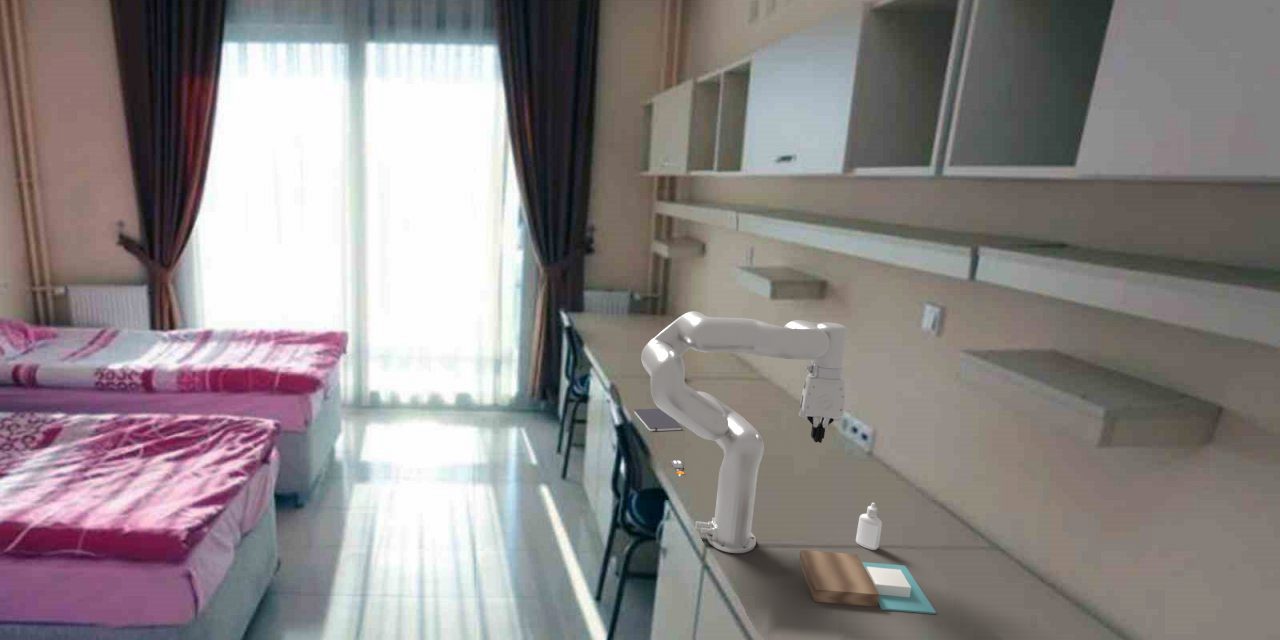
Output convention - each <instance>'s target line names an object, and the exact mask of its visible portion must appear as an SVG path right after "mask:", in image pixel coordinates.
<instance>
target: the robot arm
mask: <svg viewBox="0 0 1280 640" xmlns="http://www.w3.org/2000/svg"><path fill="white" fill-rule="evenodd" d="M847 339H848V329H847V327H846V326H845V325H843V324H840V323H837V322H829V321H827V322H824V321H823V322H815V321H808V320H803V319H802V320H801V319H794V320H791V321H789V322H787V323H785V325H784V326H779V325H776V324H770V323H769V322H768V323H767V322H765V321H762V320H758V319H754V318H747V317H719V316H717V317H716V316H715V317H714V316H713V317H712V316H706V315H705V314H704V313H702V312H699V311H695V310H694V311H687V312H686V313H684V314H682V315H680V316H679V317H677V319H675V320H674V321H673V322H672V323H670V324H669V325H667V326H666V327H665V328H664V329H663V330H662V331H660V332H659V333H658V334H657V335H655V337H653V338H652V339H650V340H649V341H648V342H647V343H646V345H645V346H644V347H643V349H642V351H641V355H640V359H641V360H640V361H641V365H642V366H643V369H645V370H646V372H647V374H649V376H650V394H651V397H652V400H653V403H654V404H655V405H656V406H657V409H661V410H662V411H663V412H665V413H666V414H668V415H669V416H670V417H672V418H673V419H674V420H675V421H676V422H677V423H678V424H679V425H681V426H683V427H685V428H686V429H688V430H689V431H691V432H692V433H693V434H695V435H696V436H697V437H700V438H701V439H703V440H707V441H714V442H715V443H716V444H717V445H718V446H719V447H720V448H721V450H722V451H723V460H722V462H721V465H720V468H719V472H718V480H717V481H718V482H717V491H716V502H715V511H714V517H711V521H710V520H708V522H706V521H705V522H704V521H699V520H698V521H697V520H695V529H696V530H700V534H706V540H707V542H708V543H709V544H710V545H711V546H712V547H714V548H715V549H716V550H719V551H722V552H725V553H728V554H729V553H731V554H745V553H749V552H750V551H752V550H753V549H755V547H756V544H757V540H756V539H757V538H756V536H755V535H754V533H753V532H752V526H753V518H754V509H755V508H754V507H755V501H756V490H757V480H758V474H759V470H760V466H761V465H760V464H761V461H762V458H763V455H764V450H765V448H764V447H765V446H764V441H763V439H762V436H761V433H759V432H758V431H757V429H756V428H755V427H754V426H753V425H752V424H751V423H750V422H748V421H747V420H746V419H745V418H744V417H743V416H742V415H740V414H739V413H738V412H736V411H735V410H733V409H732V408H731V407H729V406H728V405H726V404H725V403H723V402H722V401H720V400H718V399H717V398H716V397H715V396H713V395H712V394H709V393H707V392H705V391H699V390H698V391H696V390H695V389H693V388H692V387H690V386H688V385H687V384H686V380H685V373H686V371H685V370H686V368H685V362H684V360H683V358H682V357H683V356H684V355H685V354H686V353H687V352H688V351H689V350H690V349H691V350H693V351H695V352H697V353H703V354H704V353H706V354H749V355H755V356H761V357H771V358H777V359H784V360H809V361H810V360H811V363H810V365H805V367H804V370H805V372H809V373H808V374H807V375H806V378H805V382H804V385H803V388H802V393H801V398H800V404H799V405H800V406H799V407H800V410H799V412H798V417H800V418H801V419H804V420H808V421H809V422H810V424H811V431H810V438H811V439H812V440H813V441H814V442H815V443H819V444H820V443H821V444H822V442H823V439H825V434H826V433H825V432H826V429H827V428H828V426H829V425H830V424H831V423H833V422H839V421H842V419H843V416H844V412H845V411H844V410H845V396H846V389H845V388H846V386H845V383H846V382H845V379H844V378H843V377H842V374H843V373H842V372H843V366H844V359H845V352H846V345H847ZM819 418H820V422H819Z"/></svg>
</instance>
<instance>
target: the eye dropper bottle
mask: <svg viewBox="0 0 1280 640" xmlns="http://www.w3.org/2000/svg"><path fill="white" fill-rule="evenodd" d="M866 508H867V509H866V513H862V514H860V516H859V518H858V522H857V523H858V524H857V529H856V536H855V542H856V544H857V545H859V546H861V547H862V548H865V549H867V550H871V551H876V550H877V549H878V548H879V547H880V540H881V534H882V527H883V522H882V520H881V519H880V518H879V517H878V516H877V515H878V508H877V506H876V504H875V502H871V505H869V506H867V507H866Z"/></svg>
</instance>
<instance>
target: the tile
mask: <svg viewBox="0 0 1280 640" xmlns="http://www.w3.org/2000/svg"><path fill="white" fill-rule="evenodd" d="M866 571H867V573H868V575H869V576H870V578H871V580H872V582H873V584H874V585H875V587H876V589H877V591H878V593H879V595H890V596H900V597H910V592H911V586H910V585H909V583H908V581H907V580H906V578H905V576H904V575H903V573H902V571H901V570H898V569H887V568H876V567H866Z"/></svg>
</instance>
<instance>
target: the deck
mask: <svg viewBox="0 0 1280 640" xmlns="http://www.w3.org/2000/svg"><path fill="white" fill-rule="evenodd" d="M798 562H799V564H800V568H801V569H802V572H803V575H804V577H805V581H806V583H807V586H808V588H809V590H810V593H811V596H812V598H813V601H814V602H816V603H829V604H839V605H840V604H841V605H842V604H843V605H855V606H856V605H857V606H865V607H866V606H868V607H878V606H879V604H878V601H879V593H878V591H877V589H876V587H875V585H874V584H873V582H872V580H871V578H870V576H869V575H868V573H867V571H866V569H865V567H864V566H863V564H862V562H863V561H862V560H861V558H860V556H859V555H858V554H856V553H845V552H844V553H843V552H832V551H821V550H820V551H819V550H806V549H799V558H798Z"/></svg>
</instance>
